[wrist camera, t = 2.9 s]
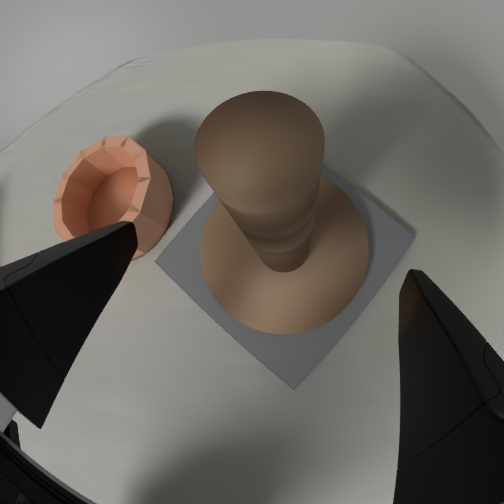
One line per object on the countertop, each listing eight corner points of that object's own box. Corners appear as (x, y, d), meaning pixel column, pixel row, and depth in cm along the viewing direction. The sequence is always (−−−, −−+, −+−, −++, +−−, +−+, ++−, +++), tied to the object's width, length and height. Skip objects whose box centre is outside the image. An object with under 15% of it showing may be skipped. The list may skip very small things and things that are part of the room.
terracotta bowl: (196, 198, 20) (174, 173, 16) (123, 285, 20) (89, 278, 16) (132, 146, 22) (108, 120, 18) (72, 220, 22) (40, 205, 18)
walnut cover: (395, 239, 17) (505, 137, 6) (292, 367, 17) (279, 464, 5) (274, 148, 20) (243, -4, 8) (173, 259, 19) (34, 191, 7)
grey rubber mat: (412, 239, 17) (415, 237, 17) (294, 387, 17) (293, 390, 16) (272, 135, 20) (272, 131, 20) (157, 262, 20) (154, 261, 19)
